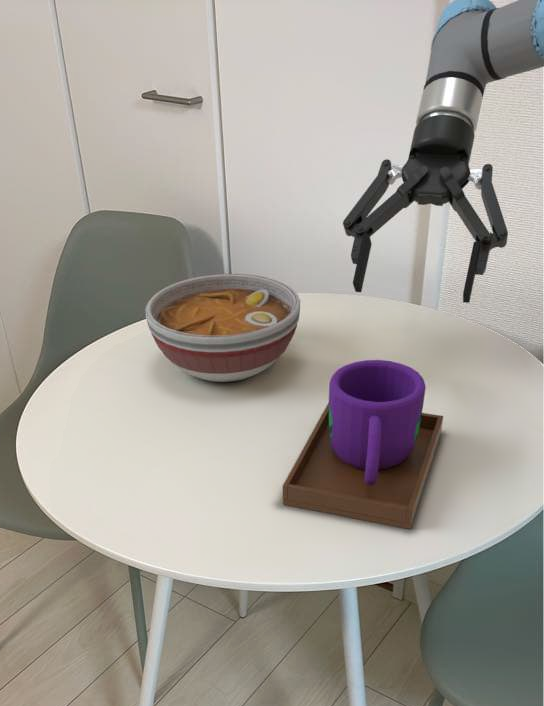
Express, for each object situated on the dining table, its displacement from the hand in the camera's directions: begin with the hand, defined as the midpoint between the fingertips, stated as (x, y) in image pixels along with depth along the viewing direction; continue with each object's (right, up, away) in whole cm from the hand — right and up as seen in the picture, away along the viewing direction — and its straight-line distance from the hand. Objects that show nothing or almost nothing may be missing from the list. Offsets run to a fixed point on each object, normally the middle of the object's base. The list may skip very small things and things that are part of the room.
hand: (410, 293), depth 94 cm
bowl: (-23, -4, +23) cm, 33 cm away
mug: (-5, -21, 0) cm, 22 cm away
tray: (-5, -22, +1) cm, 22 cm away
